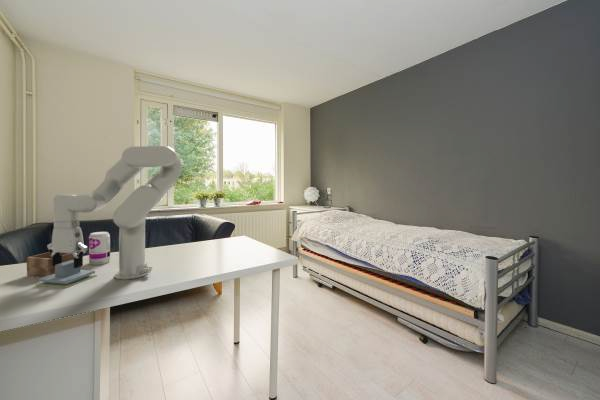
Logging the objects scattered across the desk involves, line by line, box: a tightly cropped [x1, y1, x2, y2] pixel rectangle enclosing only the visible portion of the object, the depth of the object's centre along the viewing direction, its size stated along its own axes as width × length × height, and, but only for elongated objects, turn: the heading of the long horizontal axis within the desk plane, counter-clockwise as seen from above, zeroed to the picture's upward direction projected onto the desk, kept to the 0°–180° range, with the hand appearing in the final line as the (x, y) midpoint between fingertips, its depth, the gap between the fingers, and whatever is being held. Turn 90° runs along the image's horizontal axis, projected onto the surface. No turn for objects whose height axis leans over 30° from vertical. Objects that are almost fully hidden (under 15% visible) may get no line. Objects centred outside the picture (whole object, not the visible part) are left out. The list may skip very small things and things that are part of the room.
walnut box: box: [26, 251, 75, 278], centre depth 111 cm, size 11×11×8 cm
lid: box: [38, 260, 96, 284], centre depth 103 cm, size 12×12×7 cm
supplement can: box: [88, 231, 111, 266], centre depth 126 cm, size 8×8×15 cm
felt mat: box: [35, 274, 97, 289], centre depth 104 cm, size 13×13×1 cm
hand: (67, 266), depth 103 cm, fingers open, 9 cm apart
